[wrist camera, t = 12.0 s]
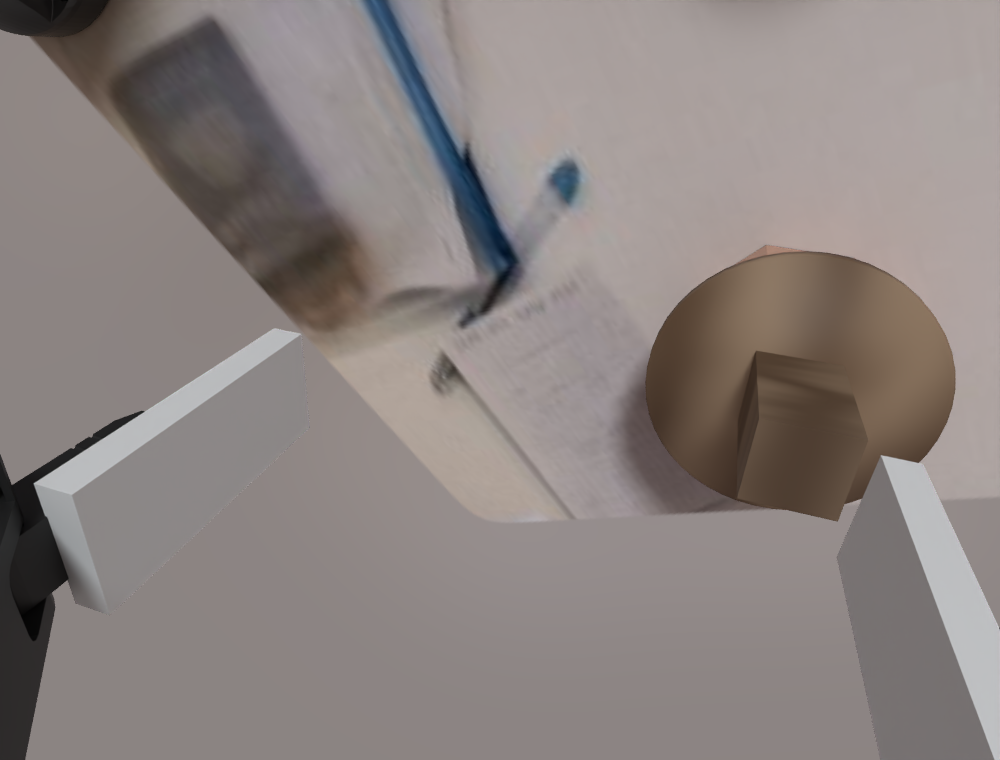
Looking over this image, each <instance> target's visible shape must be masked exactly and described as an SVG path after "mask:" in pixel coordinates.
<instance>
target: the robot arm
mask: <svg viewBox="0 0 1000 760" xmlns="http://www.w3.org/2000/svg"><path fill="white" fill-rule="evenodd" d="M107 1H108V0H0V29H1V30H4V31H6V32H10V33H14V34H19V35H25V36H50V37H60V36H67V35H71V34H74V33H77V32H79V31H81V30H83V29H84V28H86V27H87V26H88V25H90V24H91V23H92V22H93V21H94V20H95V19H96V18H97V17H98V15H99V14H100V13H101V11H102V10H103V8H104V6H105V4H106V3H107ZM309 428H310V425H309V415H308V402H307V391H306V380H305V368H304V356H303V346H302V334H300V333H295V332H290V331H285V330H280V329H276V328H274V329H272V330H271V331H269V332H268V333H266V334H265V335H263V336H261V337H260V338H259V339H257V340H255V341H254V342H252V343H251V344H249V345H248V346H246V347H244V348H243V349H241V350H240V351H238V352H237V353H235V354H234V355H232V356H231V357H229V358H227V359H226V360H224V361H223V362H221V363H220V364H218V365H217V366H215V367H213V368H212V369H210V370H209V371H207V372H206V373H204V374H203V375H201V376H200V377H198V378H196V379H195V380H193V381H192V382H190V383H189V384H187V385H186V386H184V387H182V388H181V389H179V390H178V391H176V392H175V393H173V394H172V395H170V396H169V397H167V398H165V399H164V400H162V401H161V402H160V403H158V404H156V405H155V406H153V407H151V408H150V409H148V410H147V411H140V412H137V413H134V414H132V415H129V416H127V417H123V418H121V419H118V420H115V421H113V422H112V423H110V424H109V425H107V426H105V427H104V428H102V429H101V430H99V431H98V432H96V433H94V434H93V437H92V438H90V437H88V438H86V439H85V440H83V441H82V442H80V443H79V444H77V445H76V446H75V448H74V449H72V448H71V449H69V450H67V451H66V452H64V453H63V454H61V455H59V456H58V457H56V458H55V459H53V460H52V461H50V462H49V463H47V464H45V465H43V466H42V467H41V468H39V469H37V470H35V471H34V472H33V473H31V474H29V475H27V476H26V477H24V478H23V479H21V480H20V481H18V482H16V483H15V484H13V485H11V482H10V479H9V477H8V474H7V472H6V468H5V466H4V463H3V460H2V458H1V455H0V760H25V757H26V752H27V747H28V742H29V737H30V732H31V726H32V722H33V717H34V712H35V707H36V702H37V697H38V692H39V687H40V682H41V677H42V672H43V667H44V662H45V657H46V652H47V647H48V642H49V637H50V631H51V627H52V622H53V617H54V611H55V603H54V597H53V595H52V592H53V591H54V590H56V589H57V588H58V587H59V586H61V585H62V584H63V583H64V582H65V581H67V580H68V582H69V585H70V588H71V591H72V594H73V597H74V600H75V603H76V604H79V605H82V606H84V607H88V608H90V609H93V610H96V611H99V612H102V613H105V614H108V615H111V614H112V613H113V612H114V611H115V610H116V609H117V608H118V607H119V606H121V605H122V604H123V603H124V602H125V601H126V600H127V599H128V598H129V597H130V596H131V595H132V594H133V593H134V592H135V591H136V590H138V589H139V588H140V587H141V586H142V585H143V584H144V583H145V582H146V581H147V580H148V579H149V578H150V577H151V576H152V575H154V574H155V573H156V572H157V571H158V570H159V569H160V568H161V567H162V566H163V565H164V564H165V563H166V562H167V561H168V560H169V559H171V558H172V557H173V556H174V555H175V554H176V553H177V552H178V551H179V550H180V549H181V548H182V547H183V546H184V545H185V544H187V542H189V541H190V540H191V539H192V538H193V537H194V536H195V535H196V534H197V533H198V532H199V531H200V530H201V529H202V528H204V526H206V525H207V524H208V523H209V522H210V521H211V520H212V519H213V518H214V517H215V516H216V515H217V514H218V513H219V512H221V511H222V510H223V509H224V508H225V507H226V506H227V505H228V504H229V503H230V502H231V501H232V500H233V499H234V498H235V497H236V496H237V495H239V494H240V493H241V492H242V491H243V490H244V489H245V488H246V487H247V486H248V485H249V484H250V483H251V482H252V481H253V480H255V479H256V478H257V477H258V476H259V475H260V474H261V473H262V472H263V471H264V470H265V469H266V468H267V467H268V466H269V465H271V464H272V463H273V462H274V461H275V460H276V459H277V458H278V457H279V456H280V455H281V454H282V453H283V452H284V451H285V450H287V449H288V448H289V447H290V446H291V445H292V444H293V443H294V442H295V441H296V440H297V439H298V438H299V437H300V436H301V435H302V434H304V432H306V431H307V430H308V429H309ZM837 560H838V565H839V570H840V574H841V579H842V584H843V588H844V593H845V597H846V602H847V606H848V611H849V616H850V621H851V625H852V630H853V634H854V639H855V644H856V648H857V653H858V658H859V663H860V667H861V672H862V676H863V681H864V686H865V690H866V695H867V700H868V704H869V709H870V714H871V718H872V723H873V728H874V732H875V737H876V742H877V746H878V751H879V756H880V760H1000V628H999V627H998V625H997V622H996V621H995V619H994V616H993V614H992V612H991V610H990V607H989V605H988V603H987V601H986V599H985V597H984V594H983V592H982V590H981V588H980V586H979V584H978V581H977V579H976V577H975V575H974V573H973V571H972V569H971V566H970V564H969V562H968V560H967V558H966V556H965V554H964V551H963V549H962V547H961V545H960V543H959V541H958V538H957V536H956V534H955V532H954V530H953V528H952V525H951V523H950V521H949V519H948V517H947V515H946V512H945V510H944V508H943V506H942V504H941V502H940V499H939V497H938V495H937V493H936V491H935V489H934V487H933V484H932V482H931V480H930V478H929V476H928V474H927V471H926V469H925V467H924V465H923V464H921V463H916V462H911V461H906V460H902V459H897V458H892V457H887V456H882V455H881V456H880V459H879V461H878V463H877V466H876V468H875V470H874V473H873V475H872V477H871V479H870V482H869V484H868V486H867V489H866V491H865V493H864V496H863V498H862V500H861V502H860V505H859V507H858V509H857V512H856V514H855V516H854V519H853V521H852V523H851V525H850V528H849V530H848V532H847V535H846V537H845V539H844V542H843V544H842V546H841V548H840V551H839V553H838V556H837Z"/></svg>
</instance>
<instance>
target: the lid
mask: <svg viewBox="0 0 1000 760" xmlns="http://www.w3.org/2000/svg"><path fill="white" fill-rule="evenodd" d="M954 394H955V366H954V361H953V355H952V351H951V348H950V346H949V343H948V340H947V337H946V335H945V333H944V331H943V330H942V328H941V326H940V324H939V323H938V321H937V319H936V318H935V316H934V315H933V314H932V312H931V311H930V310H929V308H928V307H927V306H926V305H925V304H924V302H923V301H922V300H921V299H920V297H918V296H917V295H916V294H915V293H914V292H913V291H912V290H911V289H910V288H908V287H907V286H906V285H905V284H904V283H902V282H901V281H899V280H898V279H896V278H895V277H893V276H892V275H890V274H889V273H887V272H885V271H883V270H881V269H879V268H877V267H875V266H873V265H871V264H868V263H865V262H862V261H859V260H856V259H853V258H850V257H846V256H841V255H836V254H831V253H823V252H808V251H801V252H783V253H777V254H771V255H765V256H760V257H757V258H753V259H750V260H746V261H743V262H741V263H738V264H736V265H733V266H731V267H729V268H726V269H724V270H722V271H720V272H719V273H717V274H715V275H713V276H712V277H710V278H708V279H706V280H705V281H704V282H702V283H701V284H700V285H698V286H697V287H696V288H694V289H693V290H692V291H691V292H690V293H689V294H688V295H687V296H685V297H684V298H683V299H682V300H681V301H680V302H679V303H678V305H677V306H676V307H675V308H674V310H673V311H672V312H671V313H670V315H669V316H668V317H667V319H666V321H665V322H664V324H663V326H662V327H661V329H660V331H659V333H658V335H657V338H656V340H655V342H654V345H653V347H652V351H651V354H650V358H649V362H648V366H647V374H646V400H647V405H648V410H649V415H650V418H651V420H652V423H653V426H654V429H655V431H656V433H657V435H658V437H659V438H660V440H661V442H662V444H663V445H664V446H665V448H666V449H667V451H668V452H669V454H670V455H671V456H672V457H673V458H674V459H675V460H676V462H677V463H678V464H679V465H680V466H681V467H682V468H683V469H684V470H686V471H687V472H688V473H689V474H690V475H691V476H693V477H694V478H695V479H697V480H698V481H700V482H701V483H703V484H704V485H706V486H707V487H709V488H711V489H713V490H715V491H717V492H719V493H720V494H722V495H725V496H727V497H730V498H732V499H735V500H737V501H741V502H744V503H748V504H751V505H755V506H760V507H766V508H771V509H782V510H790V511H795V512H798V513H803V514H808V515H811V516H816V517H821V518H825V519H829V520H833V521H838V519H839V517H840V514H841V511H842V509H843V506H844V504H847V503H850V502H853V501H856V500H859V499H862V498H863V496H864V493H865V491H866V489H867V486H868V484H869V482H870V479H871V477H872V475H873V473H874V470H875V468H876V466H877V463H878V461H879V459H880V456H881V455H882V456H887V457H892V458H897V459H902V460H906V461H911V462H916V463H919V462H920V461H921V460H922V459H923V458H924V457H925V456H926V455H927V454H928V452H929V451H930V449H931V448H932V447H933V445H934V444H935V443H936V441H937V440H938V438H939V436H940V435H941V433H942V431H943V429H944V427H945V425H946V423H947V420H948V417H949V415H950V412H951V409H952V405H953V400H954Z"/></svg>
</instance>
